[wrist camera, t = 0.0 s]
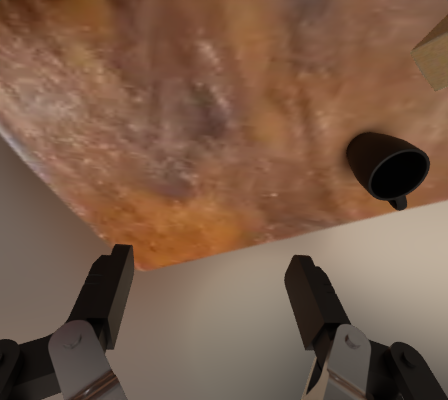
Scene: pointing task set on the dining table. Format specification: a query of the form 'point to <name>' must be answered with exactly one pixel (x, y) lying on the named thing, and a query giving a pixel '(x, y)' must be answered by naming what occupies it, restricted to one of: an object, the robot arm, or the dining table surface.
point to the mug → (387, 166)
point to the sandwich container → (434, 56)
